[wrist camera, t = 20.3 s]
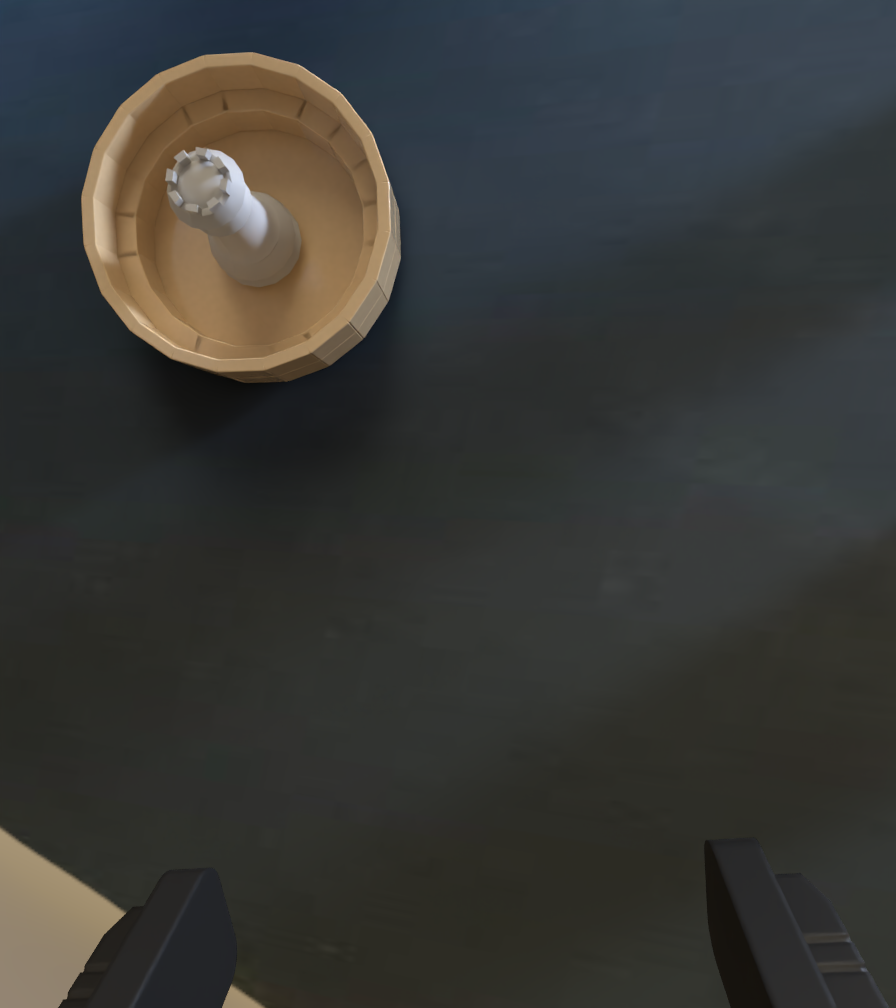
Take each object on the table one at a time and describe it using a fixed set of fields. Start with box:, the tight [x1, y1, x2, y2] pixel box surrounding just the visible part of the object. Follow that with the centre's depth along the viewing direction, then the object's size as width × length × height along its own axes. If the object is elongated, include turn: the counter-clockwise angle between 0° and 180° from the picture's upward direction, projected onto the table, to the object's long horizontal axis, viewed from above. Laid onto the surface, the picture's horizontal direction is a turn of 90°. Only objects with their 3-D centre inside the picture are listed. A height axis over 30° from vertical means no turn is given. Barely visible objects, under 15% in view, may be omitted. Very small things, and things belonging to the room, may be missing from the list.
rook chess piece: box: [165, 147, 302, 287], centre depth 32 cm, size 4×4×8 cm
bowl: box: [81, 52, 401, 383], centre depth 34 cm, size 14×14×4 cm
